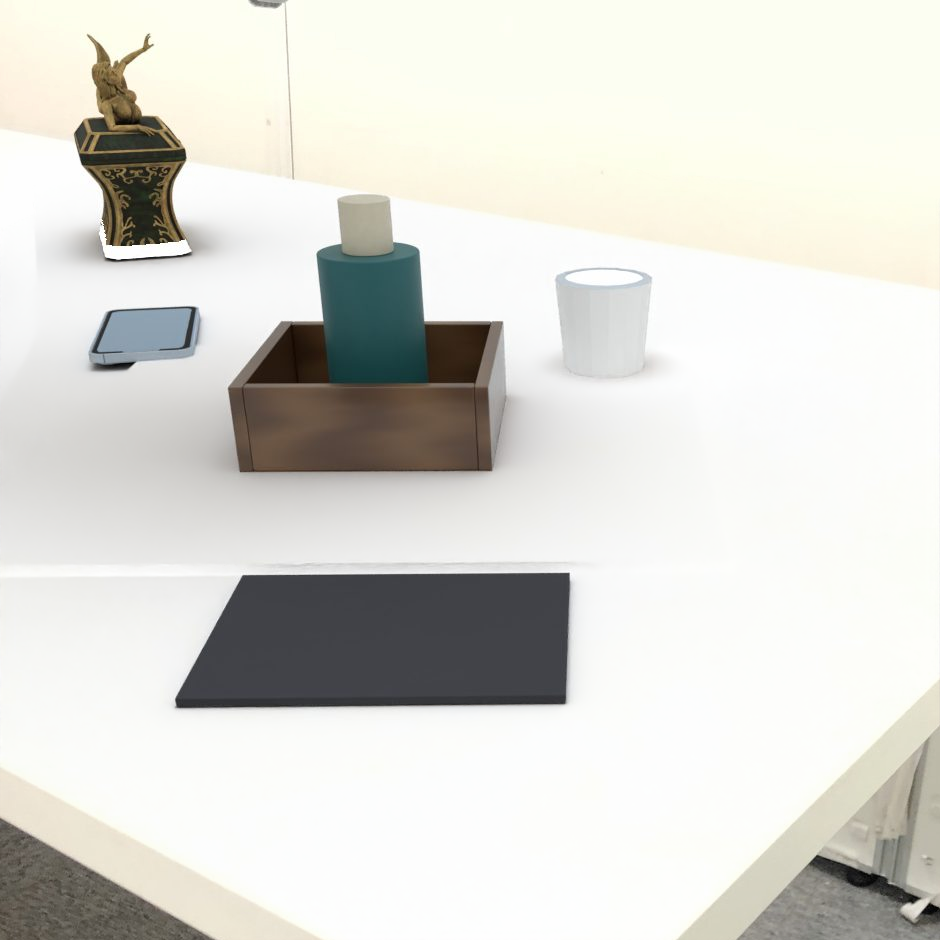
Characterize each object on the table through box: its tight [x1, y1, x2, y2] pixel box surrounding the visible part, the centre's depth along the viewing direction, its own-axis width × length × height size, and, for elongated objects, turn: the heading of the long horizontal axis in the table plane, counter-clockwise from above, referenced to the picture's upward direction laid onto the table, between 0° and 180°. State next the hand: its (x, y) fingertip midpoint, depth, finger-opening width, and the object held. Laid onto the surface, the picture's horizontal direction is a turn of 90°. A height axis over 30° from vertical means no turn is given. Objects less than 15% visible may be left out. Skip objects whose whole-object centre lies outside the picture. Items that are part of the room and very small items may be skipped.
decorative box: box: [73, 33, 188, 246], centre depth 132 cm, size 20×10×20 cm, turn 22°
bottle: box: [315, 193, 429, 384], centre depth 80 cm, size 6×6×14 cm
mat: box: [174, 572, 571, 708], centre depth 60 cm, size 16×12×1 cm
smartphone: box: [87, 305, 201, 366], centre depth 103 cm, size 7×1×15 cm
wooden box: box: [227, 320, 507, 473], centre depth 83 cm, size 15×15×6 cm
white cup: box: [554, 267, 653, 379], centre depth 95 cm, size 7×7×7 cm
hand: (268, 5), depth 66 cm, fingers open, 8 cm apart
